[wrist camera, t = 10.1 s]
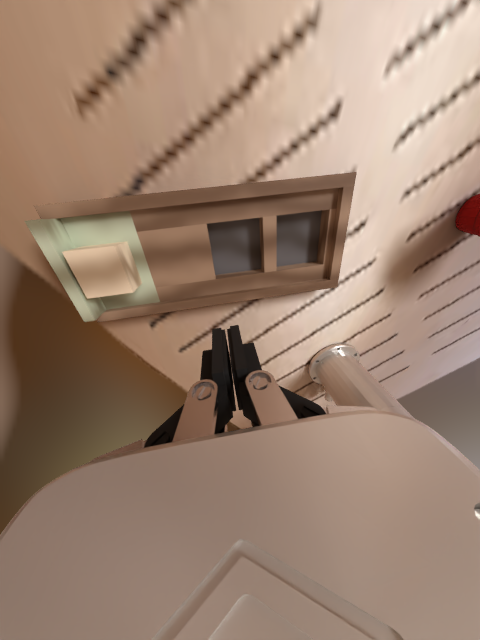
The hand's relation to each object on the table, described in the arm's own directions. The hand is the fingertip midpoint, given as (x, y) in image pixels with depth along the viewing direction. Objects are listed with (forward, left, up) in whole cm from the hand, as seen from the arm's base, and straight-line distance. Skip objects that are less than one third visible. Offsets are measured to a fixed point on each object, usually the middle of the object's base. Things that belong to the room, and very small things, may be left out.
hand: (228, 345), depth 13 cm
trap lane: (+2, 0, -23) cm, 23 cm away
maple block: (+2, +15, -20) cm, 25 cm away
